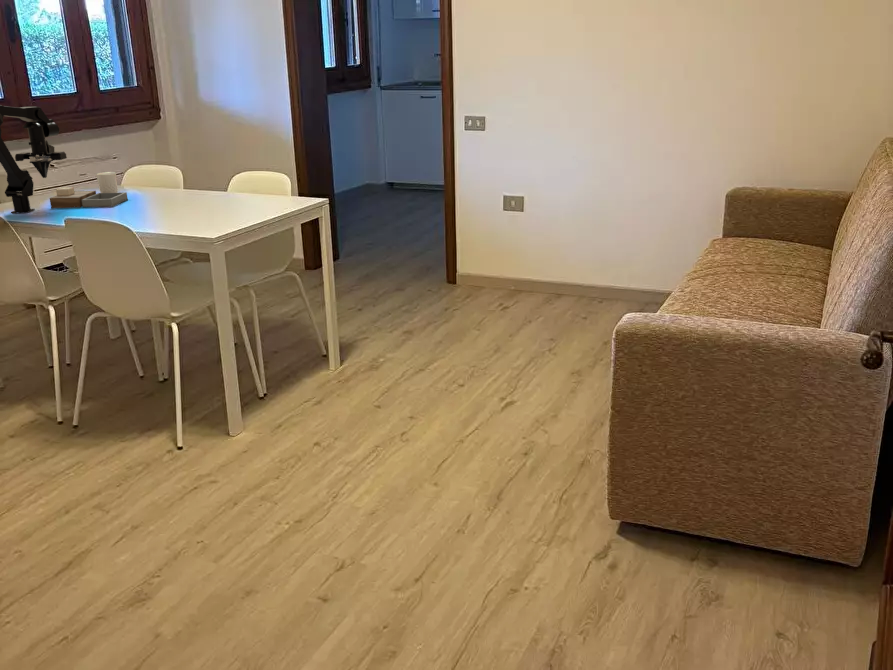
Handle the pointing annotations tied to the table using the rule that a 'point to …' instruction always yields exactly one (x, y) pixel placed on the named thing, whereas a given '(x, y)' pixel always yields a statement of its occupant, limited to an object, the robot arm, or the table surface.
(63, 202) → the plate
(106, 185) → the white cup
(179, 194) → the table surface
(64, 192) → the tile
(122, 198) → the box
